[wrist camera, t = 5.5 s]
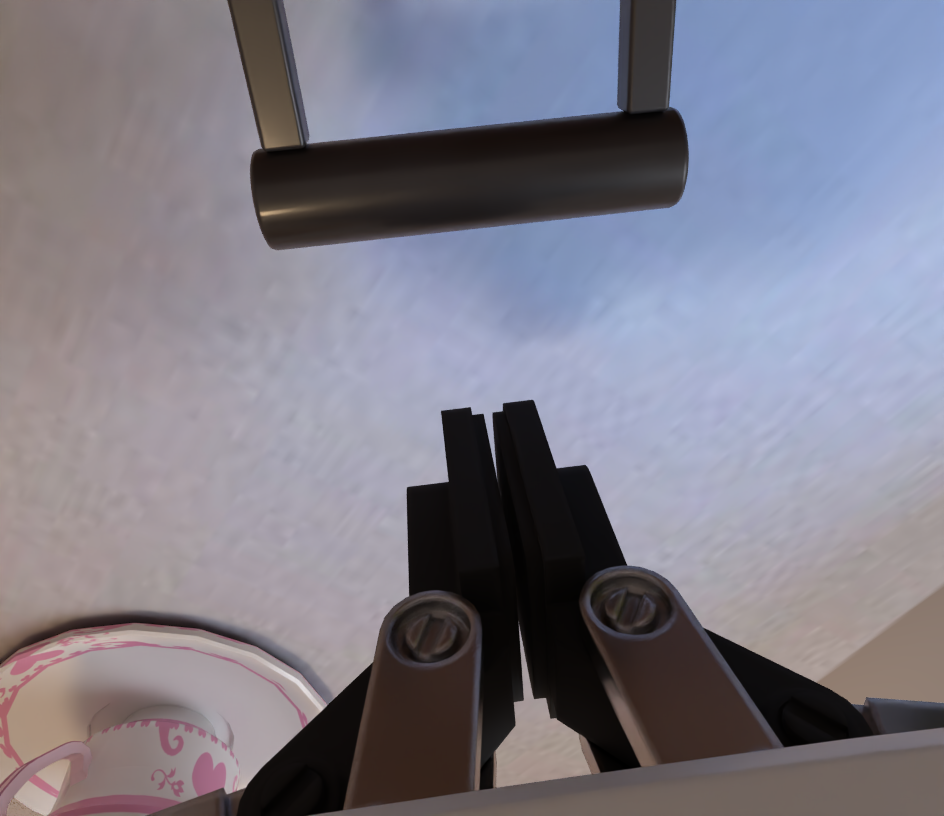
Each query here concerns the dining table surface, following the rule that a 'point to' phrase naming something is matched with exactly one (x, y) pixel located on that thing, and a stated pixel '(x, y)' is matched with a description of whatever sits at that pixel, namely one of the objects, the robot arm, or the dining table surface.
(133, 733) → the teacup
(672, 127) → the drawer
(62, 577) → the dining table surface
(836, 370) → the dining table surface
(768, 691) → the robot arm
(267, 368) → the dining table surface
